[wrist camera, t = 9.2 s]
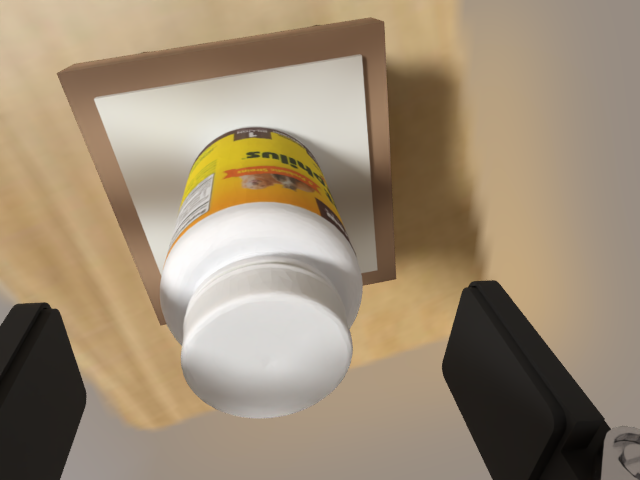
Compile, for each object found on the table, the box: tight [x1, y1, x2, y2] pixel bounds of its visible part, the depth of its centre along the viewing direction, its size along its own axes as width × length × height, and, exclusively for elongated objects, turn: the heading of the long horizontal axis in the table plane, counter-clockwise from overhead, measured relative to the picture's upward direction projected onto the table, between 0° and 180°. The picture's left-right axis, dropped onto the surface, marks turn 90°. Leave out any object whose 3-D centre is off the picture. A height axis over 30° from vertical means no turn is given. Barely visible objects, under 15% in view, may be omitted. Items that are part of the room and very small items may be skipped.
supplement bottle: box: [160, 126, 362, 418], centre depth 15 cm, size 6×6×10 cm
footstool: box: [57, 18, 396, 325], centre depth 23 cm, size 12×12×8 cm
